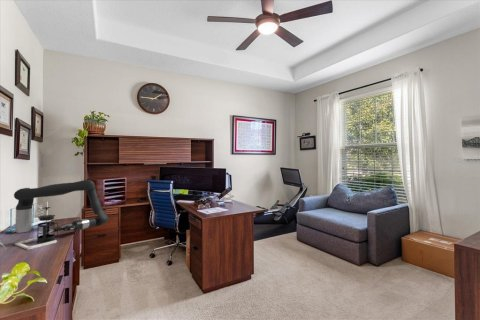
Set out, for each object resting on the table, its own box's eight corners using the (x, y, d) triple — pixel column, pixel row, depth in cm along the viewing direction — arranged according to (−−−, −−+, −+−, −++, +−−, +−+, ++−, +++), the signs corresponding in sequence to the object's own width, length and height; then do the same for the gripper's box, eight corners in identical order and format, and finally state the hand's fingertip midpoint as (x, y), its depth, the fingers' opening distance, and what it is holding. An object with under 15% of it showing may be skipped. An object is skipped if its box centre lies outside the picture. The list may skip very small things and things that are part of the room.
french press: (33, 244, 151) (34, 209, 151) (37, 240, 159) (38, 206, 159) (56, 241, 156) (57, 207, 157) (58, 237, 165) (59, 205, 165)
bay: (14, 244, 150) (14, 242, 150) (43, 237, 164) (43, 236, 164) (27, 249, 142) (27, 247, 142) (56, 242, 155) (56, 240, 155)
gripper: (76, 218, 180) (49, 223, 165) (85, 220, 174) (59, 226, 159) (75, 228, 180) (49, 234, 165) (85, 230, 174) (59, 237, 159)
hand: (54, 230), depth 162 cm, fingers closed
